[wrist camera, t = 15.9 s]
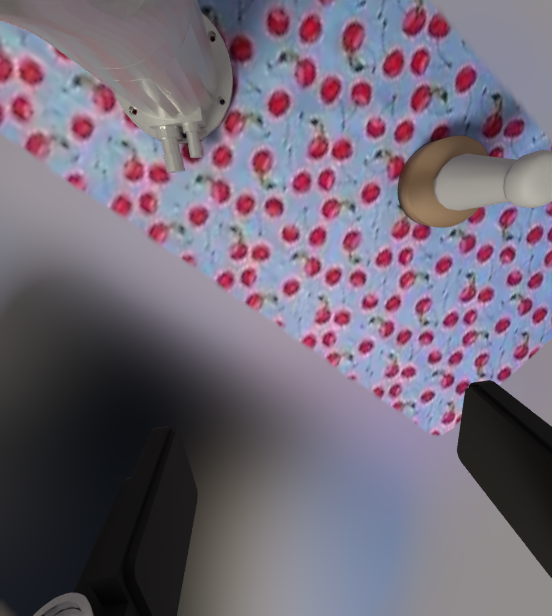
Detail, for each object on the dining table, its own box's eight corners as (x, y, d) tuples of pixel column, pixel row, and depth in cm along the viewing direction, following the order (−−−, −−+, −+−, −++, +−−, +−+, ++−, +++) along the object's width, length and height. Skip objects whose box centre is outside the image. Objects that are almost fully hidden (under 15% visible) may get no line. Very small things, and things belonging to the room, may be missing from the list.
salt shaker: (457, 144, 34) (571, 117, 22) (482, 184, 36) (599, 180, 24) (415, 182, 35) (501, 177, 23) (441, 219, 37) (533, 232, 25)
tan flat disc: (469, 220, 40) (485, 222, 38) (396, 229, 40) (407, 232, 37) (479, 135, 37) (498, 130, 34) (398, 144, 36) (411, 141, 34)
